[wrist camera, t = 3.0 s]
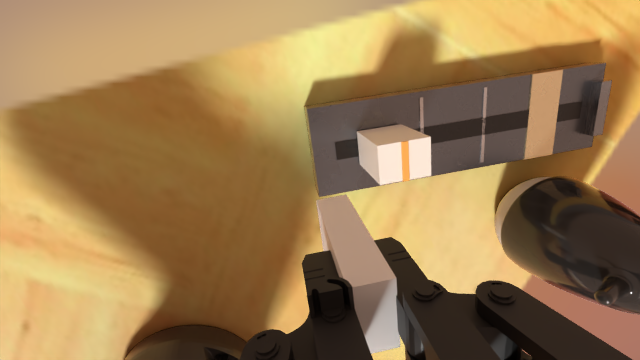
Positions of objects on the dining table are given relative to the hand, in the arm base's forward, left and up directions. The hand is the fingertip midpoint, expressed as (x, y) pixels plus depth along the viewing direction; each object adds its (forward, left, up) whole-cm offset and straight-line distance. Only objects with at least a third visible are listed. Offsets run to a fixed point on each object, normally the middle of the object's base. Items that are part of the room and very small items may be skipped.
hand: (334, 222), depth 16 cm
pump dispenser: (+23, -11, -15) cm, 30 cm away
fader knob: (+7, 0, -13) cm, 14 cm away
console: (+15, 0, -15) cm, 21 cm away
